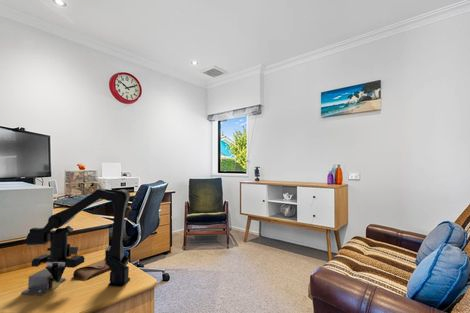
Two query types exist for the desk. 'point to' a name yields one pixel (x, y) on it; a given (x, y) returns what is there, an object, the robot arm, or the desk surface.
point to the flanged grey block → (39, 283)
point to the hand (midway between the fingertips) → (58, 282)
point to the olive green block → (53, 284)
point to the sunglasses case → (91, 270)
